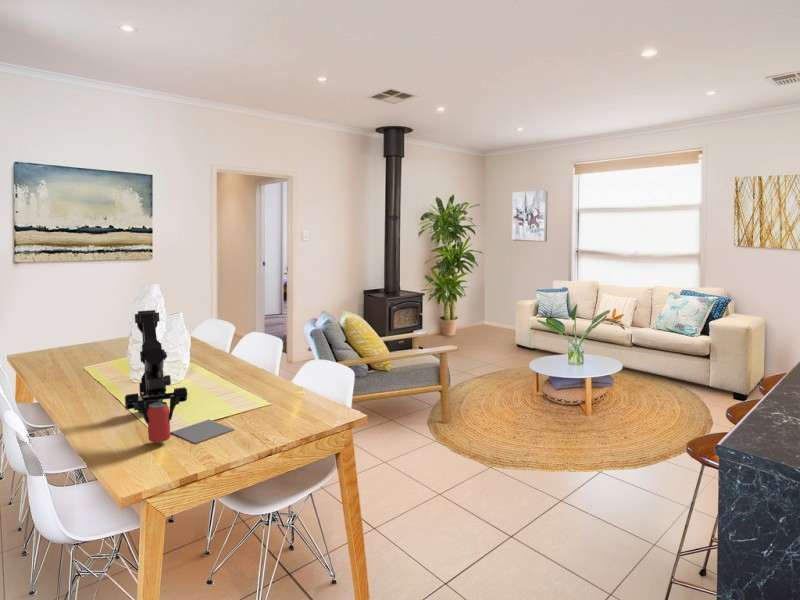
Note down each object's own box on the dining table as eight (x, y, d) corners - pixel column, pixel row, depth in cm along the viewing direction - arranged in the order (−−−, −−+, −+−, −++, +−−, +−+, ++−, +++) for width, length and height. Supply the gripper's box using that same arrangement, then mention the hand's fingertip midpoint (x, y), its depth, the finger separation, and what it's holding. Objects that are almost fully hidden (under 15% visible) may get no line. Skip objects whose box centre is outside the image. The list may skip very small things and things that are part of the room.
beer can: (175, 436, 173) (173, 402, 171) (160, 444, 167) (159, 408, 165) (158, 433, 175) (156, 399, 173) (144, 441, 168) (142, 406, 166)
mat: (170, 433, 179) (170, 432, 179) (208, 420, 191) (208, 419, 191) (195, 444, 170) (195, 443, 170) (234, 430, 182) (234, 429, 182)
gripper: (123, 371, 166) (126, 415, 158) (185, 364, 175) (191, 405, 167) (124, 387, 174) (127, 430, 166) (183, 380, 183) (189, 420, 175)
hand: (159, 421), depth 168 cm, fingers closed on beer can, 6 cm apart
